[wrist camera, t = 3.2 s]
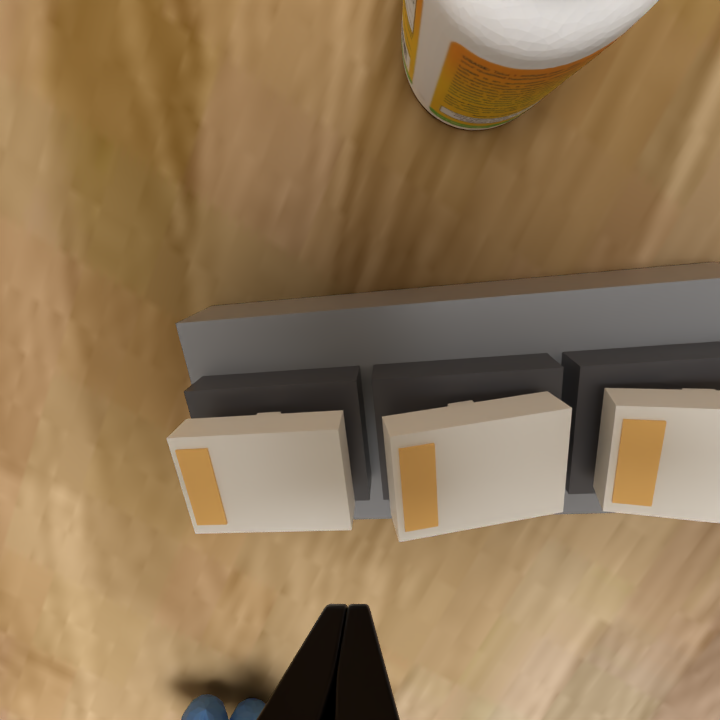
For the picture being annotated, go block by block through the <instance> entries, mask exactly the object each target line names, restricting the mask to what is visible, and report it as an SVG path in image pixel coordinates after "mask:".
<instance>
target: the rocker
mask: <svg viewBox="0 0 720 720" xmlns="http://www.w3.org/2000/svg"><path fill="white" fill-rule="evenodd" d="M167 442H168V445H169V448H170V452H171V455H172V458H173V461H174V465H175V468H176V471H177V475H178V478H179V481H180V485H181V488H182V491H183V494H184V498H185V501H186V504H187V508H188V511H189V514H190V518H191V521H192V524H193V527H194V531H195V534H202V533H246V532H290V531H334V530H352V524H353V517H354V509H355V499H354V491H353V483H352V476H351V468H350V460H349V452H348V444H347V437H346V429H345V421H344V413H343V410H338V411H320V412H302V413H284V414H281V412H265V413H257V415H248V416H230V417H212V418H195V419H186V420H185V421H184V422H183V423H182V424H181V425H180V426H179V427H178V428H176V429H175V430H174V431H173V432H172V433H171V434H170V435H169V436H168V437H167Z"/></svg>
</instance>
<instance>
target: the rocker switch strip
mask: <svg viewBox="0 0 720 720" xmlns="http://www.w3.org/2000/svg"><path fill="white" fill-rule="evenodd" d="M176 327H177V331H178V334H179V338H180V342H181V346H182V350H183V353H184V357H185V361H186V365H187V368H188V372H189V376H190V380H191V384H192V385H191V386H190V387H189V388H187V389H186V390H185V391H184V394H185V398H186V401H187V405H188V409H189V412H190V416H191V419H195V418H212V417H230V416H248V415H257V413H265V412H281V414H284V413H302V412H320V411H338V410H343V413H344V421H345V429H346V437H347V444H348V452H349V460H350V468H351V476H352V483H353V491H354V499H355V509H354V517H353V519H389V518H392V516H391V509H390V499H389V488H388V477H387V466H386V455H385V444H384V434H383V423H382V416H389V415H395V414H402V413H408V412H415V411H421V410H428V409H434V408H441V407H447V406H448V404H450V403H456V402H463V401H469V400H472V401H473V402H480V401H487V400H493V399H500V398H506V397H513V396H519V395H526V394H532V393H539V392H545V391H548V392H549V393H551V394H552V395H554V396H555V397H557V398H558V399H560V400H561V401H563V402H564V403H566V404H567V405H568V406H570V407H571V408H572V416H571V427H570V438H569V450H568V461H567V473H566V484H565V495H564V507H563V512H561V513H556V514H588V513H616V512H606V511H603V510H602V508H601V505H600V503H599V500H598V498H597V495H596V493H595V490H594V487H593V483H594V474H595V465H596V457H597V448H598V439H599V431H600V422H601V414H602V405H603V396H604V388H633V389H678V390H682V388H692V389H715V390H720V263H718V262H707V263H696V264H684V265H673V266H661V267H650V268H639V269H627V270H616V271H604V272H593V273H581V274H570V275H559V276H547V277H536V278H524V279H513V280H501V281H490V282H479V283H467V284H456V285H444V286H433V287H421V288H410V289H399V290H387V291H376V292H364V293H353V294H341V295H330V296H319V297H307V298H296V299H284V300H273V301H261V302H250V303H239V304H227V305H216V306H210V307H208V308H206V309H204V310H202V311H200V312H198V313H196V314H194V315H192V316H190V317H188V318H186V319H184V320H182V321H179V322H177V323H176Z"/></svg>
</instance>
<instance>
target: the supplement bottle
mask: <svg viewBox="0 0 720 720" xmlns="http://www.w3.org/2000/svg"><path fill="white" fill-rule="evenodd" d="M658 1H659V0H403V12H402V39H401V43H402V55H403V62H404V67H405V72H406V75H407V78H408V81H409V84H410V86H411V88H412V90H413V92H414V94H415V95H416V97H417V99H418V100H419V101H420V103H421V104H422V105H423V106H424V107H425V109H426V110H427V111H428V112H429V113H431V114H432V115H433V116H434V117H436V118H437V119H439V120H441V121H442V122H444V123H446V124H448V125H451V126H454V127H457V128H461V129H466V130H484V129H490V128H494V127H497V126H500V125H503V124H505V123H507V122H509V121H511V120H513V119H515V118H517V117H518V116H520V115H521V114H523V113H524V112H526V111H527V110H529V109H530V108H531V107H533V106H534V105H535V104H536V103H538V102H539V101H540V100H541V99H543V98H544V97H545V96H546V95H547V94H549V93H550V92H551V91H552V90H554V89H555V88H556V87H557V86H559V85H560V84H561V83H562V82H564V81H565V80H566V79H567V78H569V77H570V76H571V75H573V74H574V73H575V72H577V71H578V70H579V69H581V68H582V67H583V66H584V65H586V64H587V63H588V62H590V61H591V60H592V59H593V58H595V57H596V56H597V55H599V54H600V53H601V52H602V51H603V50H604V49H606V48H607V47H608V46H609V45H611V44H612V43H613V42H614V41H616V40H617V39H618V38H619V37H620V36H622V35H623V34H624V33H625V32H626V31H627V30H628V29H629V28H631V27H632V26H633V25H634V24H635V23H636V22H637V21H638V20H639V19H640V18H641V17H642V16H643V15H645V14H646V13H647V12H648V11H649V10H650V9H651V8H652V7H653V6H654V5H655V4H656V3H657V2H658Z"/></svg>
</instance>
